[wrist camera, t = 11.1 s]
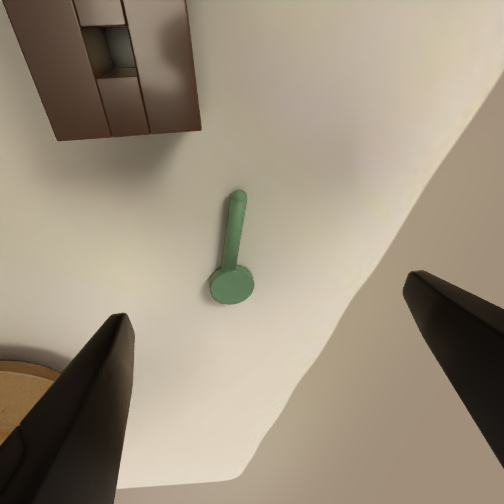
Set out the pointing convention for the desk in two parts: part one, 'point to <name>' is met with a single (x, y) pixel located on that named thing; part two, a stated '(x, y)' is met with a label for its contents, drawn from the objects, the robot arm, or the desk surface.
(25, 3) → the holder
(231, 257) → the spoon
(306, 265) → the desk surface
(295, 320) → the desk surface
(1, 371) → the plant saucer
